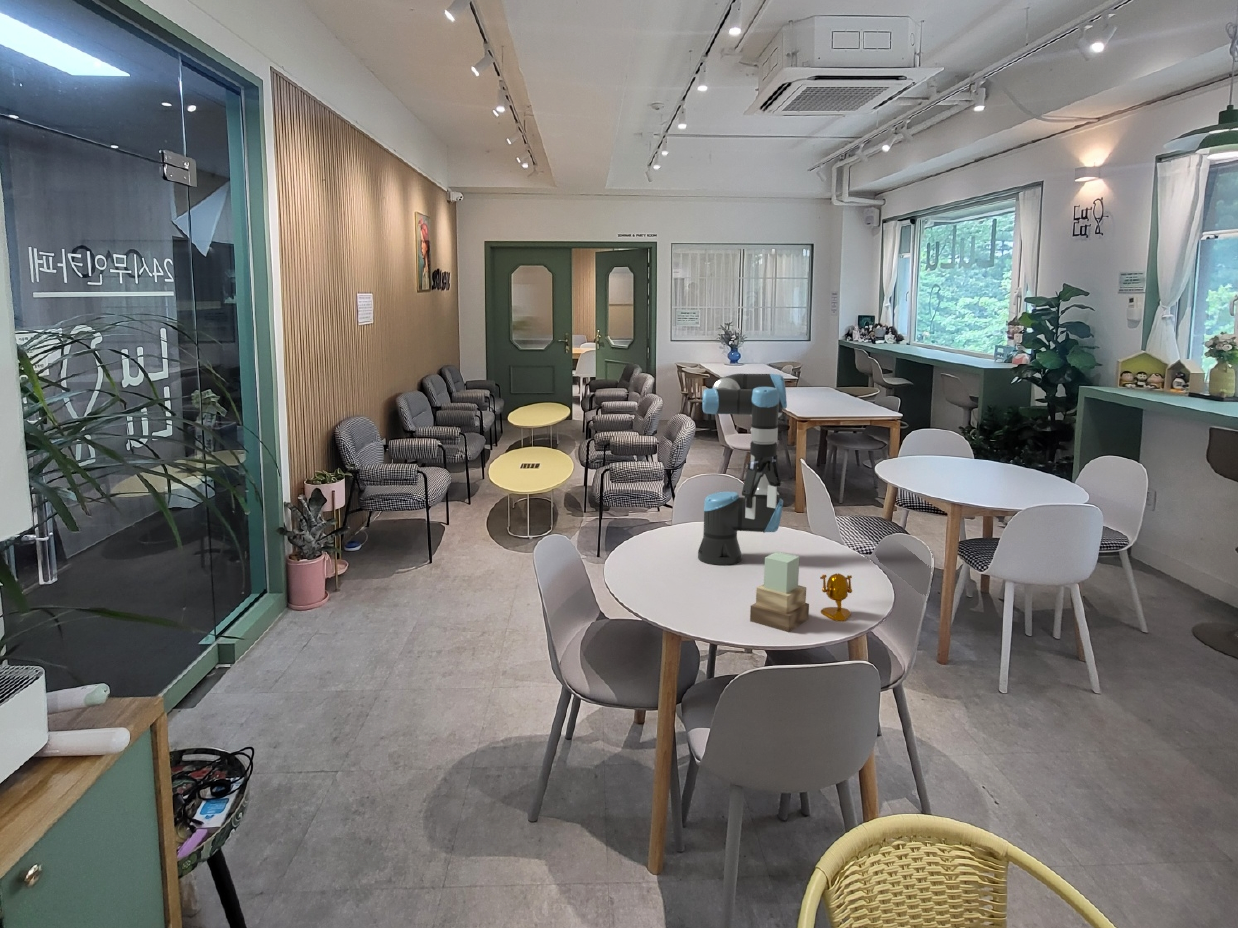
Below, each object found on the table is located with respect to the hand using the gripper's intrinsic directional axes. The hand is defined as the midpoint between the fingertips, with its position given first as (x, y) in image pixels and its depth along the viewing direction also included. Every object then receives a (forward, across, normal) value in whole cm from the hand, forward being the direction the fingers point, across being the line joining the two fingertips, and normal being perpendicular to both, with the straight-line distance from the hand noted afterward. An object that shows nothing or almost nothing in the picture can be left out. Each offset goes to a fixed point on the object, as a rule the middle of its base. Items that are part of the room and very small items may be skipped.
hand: (761, 512), depth 238 cm
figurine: (+28, -5, +23) cm, 36 cm away
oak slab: (+23, +8, +11) cm, 27 cm away
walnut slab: (+28, +9, +11) cm, 31 cm away
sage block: (+18, +8, +11) cm, 23 cm away
